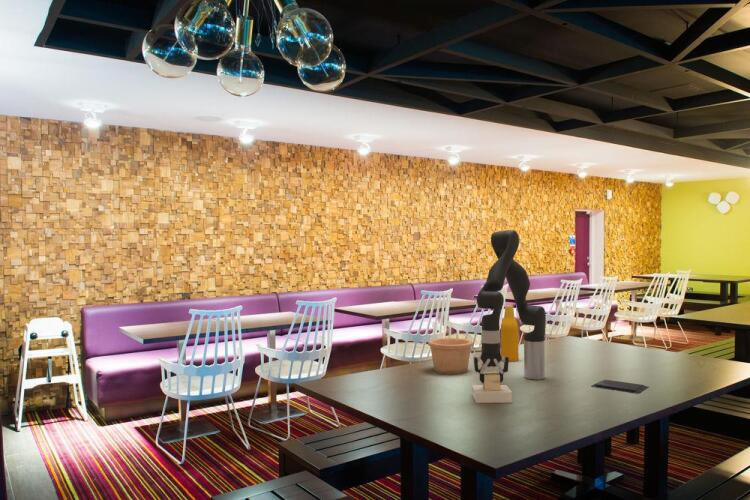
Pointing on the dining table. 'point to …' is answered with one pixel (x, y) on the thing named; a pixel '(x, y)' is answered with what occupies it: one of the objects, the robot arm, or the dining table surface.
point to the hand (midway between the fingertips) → (491, 382)
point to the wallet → (620, 386)
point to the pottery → (450, 355)
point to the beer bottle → (509, 335)
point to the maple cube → (491, 381)
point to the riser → (491, 395)
